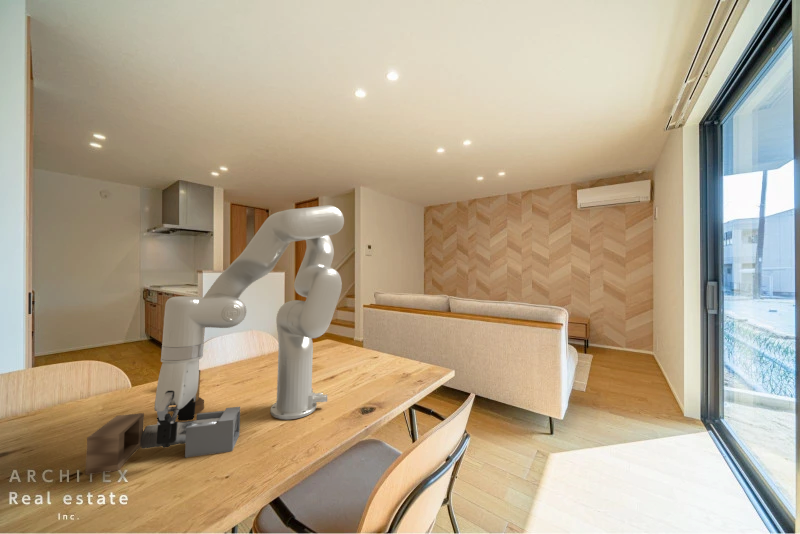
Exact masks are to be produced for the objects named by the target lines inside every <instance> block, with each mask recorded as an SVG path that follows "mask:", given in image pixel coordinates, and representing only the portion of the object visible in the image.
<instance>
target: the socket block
mask: <svg viewBox="0 0 800 534" xmlns="http://www.w3.org/2000/svg"><path fill="white" fill-rule="evenodd" d="M144 419H145V413H144V412H140V413H130V414H122V415H121V414H119V415H116V416H114V417H113V418H112V419H110V420H109V421H108V422H106V423H105V424H104V425H102V426H101V427H100V428H98V429H96V430H95V432H93V433H92V434H90V435H89V436H87V437H86V458H85V476H88V475H92V474H93V475H94V474H101V473H107V472H115V471H118V470H120V468H121V467H123V465H124V464H125V463H126V462H127V461H129V459H130V458H131V457H132V456H133V455H134V454H135V453H136V452H137V451H138V450H139V449H141V446H140V440H141V435H142V433H143V431H144V425H145V424H144V423H145V422H144Z"/></svg>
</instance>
